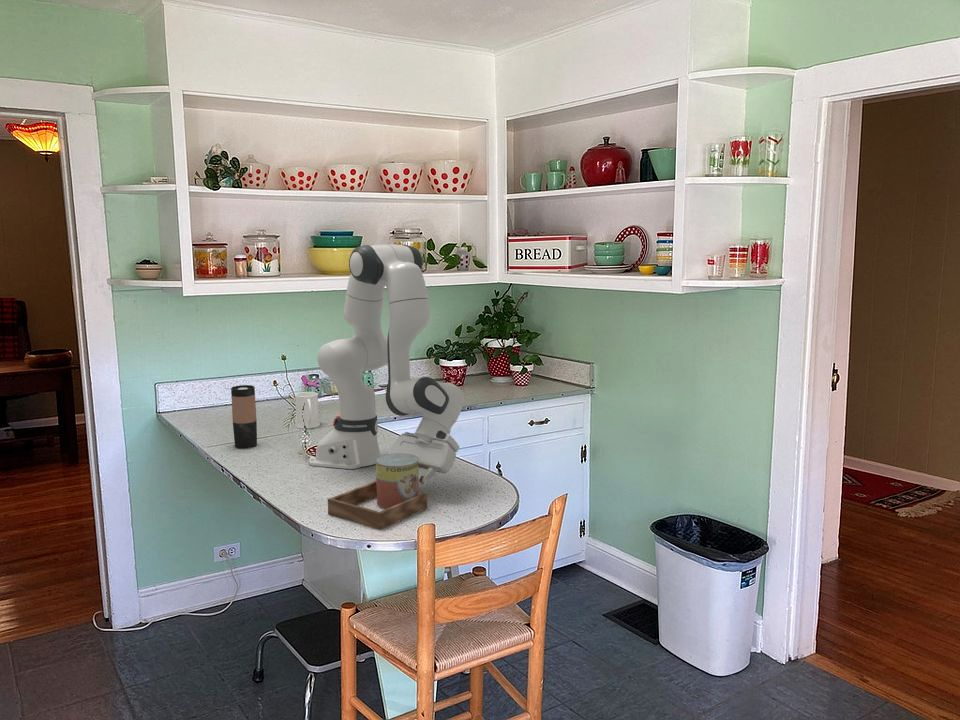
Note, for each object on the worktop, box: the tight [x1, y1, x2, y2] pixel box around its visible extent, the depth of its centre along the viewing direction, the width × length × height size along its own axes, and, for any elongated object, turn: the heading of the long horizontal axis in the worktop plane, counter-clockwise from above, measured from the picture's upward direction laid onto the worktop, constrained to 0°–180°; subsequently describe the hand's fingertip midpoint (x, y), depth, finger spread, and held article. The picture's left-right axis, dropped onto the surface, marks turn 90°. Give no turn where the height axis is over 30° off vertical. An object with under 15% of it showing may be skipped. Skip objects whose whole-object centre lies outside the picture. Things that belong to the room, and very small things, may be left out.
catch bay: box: [327, 480, 428, 530], centre depth 207 cm, size 18×18×4 cm
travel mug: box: [230, 384, 258, 450], centre depth 267 cm, size 8×8×20 cm
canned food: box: [375, 453, 420, 510], centre depth 213 cm, size 11×11×12 cm
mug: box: [294, 391, 321, 430], centre depth 292 cm, size 12×8×12 cm
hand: (408, 480), depth 216 cm, fingers open, 8 cm apart
